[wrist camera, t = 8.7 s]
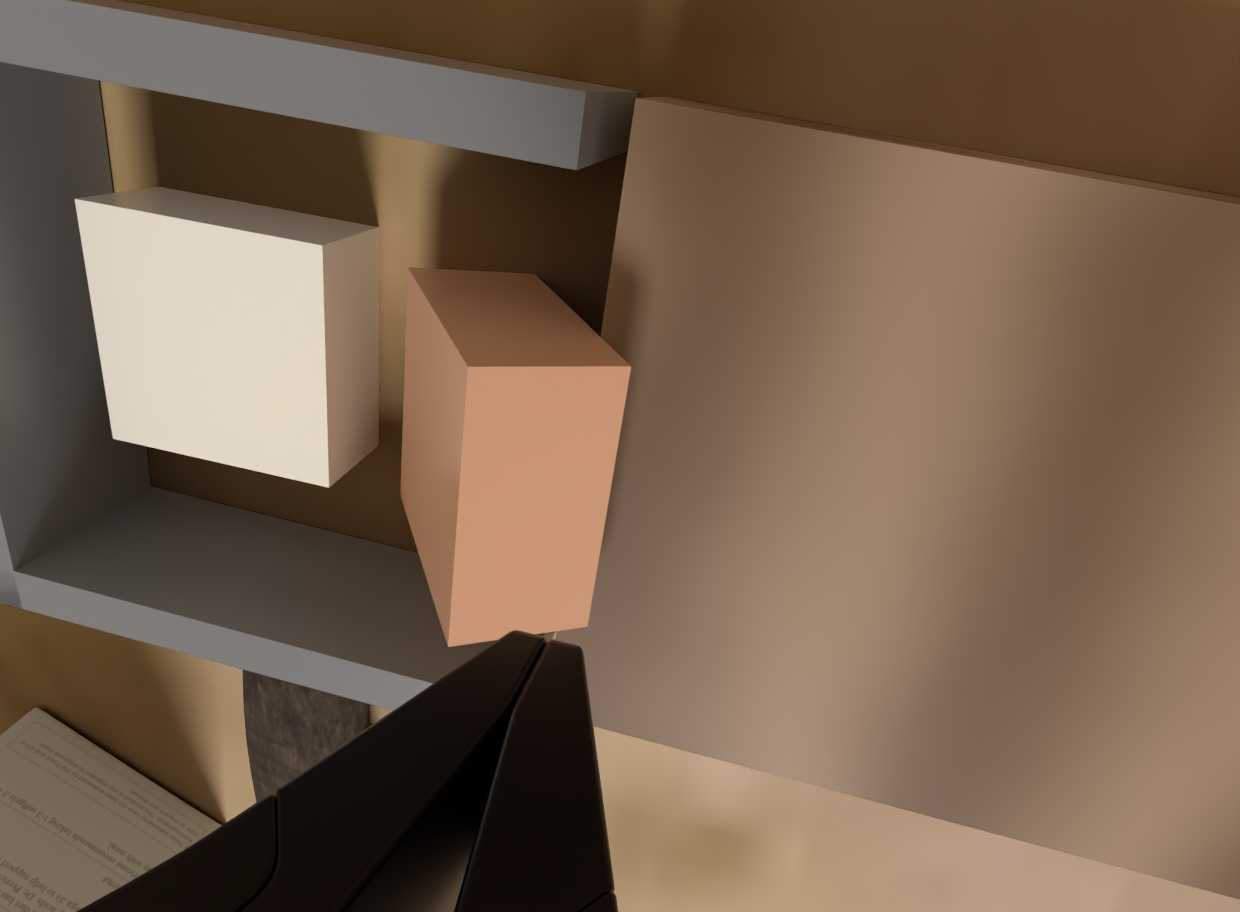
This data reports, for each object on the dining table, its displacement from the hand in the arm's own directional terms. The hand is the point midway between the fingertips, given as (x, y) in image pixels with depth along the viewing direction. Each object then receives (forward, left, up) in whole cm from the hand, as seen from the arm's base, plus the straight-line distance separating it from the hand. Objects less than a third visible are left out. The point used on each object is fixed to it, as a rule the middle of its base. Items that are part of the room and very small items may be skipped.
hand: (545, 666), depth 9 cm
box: (+7, 0, -8) cm, 11 cm away
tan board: (-8, 0, -8) cm, 11 cm away
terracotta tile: (+1, 0, -6) cm, 6 cm away
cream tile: (+9, 0, -6) cm, 11 cm away
